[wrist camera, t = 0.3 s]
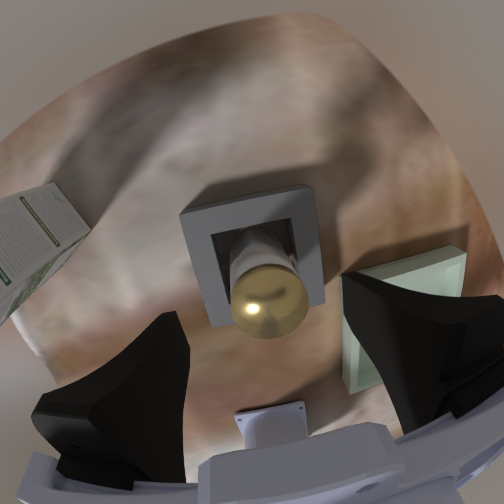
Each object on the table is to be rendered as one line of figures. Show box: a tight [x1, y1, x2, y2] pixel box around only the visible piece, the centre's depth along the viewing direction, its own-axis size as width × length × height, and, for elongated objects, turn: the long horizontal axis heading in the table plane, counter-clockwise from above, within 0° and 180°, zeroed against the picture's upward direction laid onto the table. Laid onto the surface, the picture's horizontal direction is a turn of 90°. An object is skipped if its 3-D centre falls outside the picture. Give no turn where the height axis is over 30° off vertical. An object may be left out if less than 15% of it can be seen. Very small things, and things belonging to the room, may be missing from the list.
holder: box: [179, 184, 325, 328], centre depth 21 cm, size 9×9×2 cm
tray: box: [340, 245, 467, 395], centre depth 24 cm, size 13×13×2 cm
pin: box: [230, 228, 309, 339], centre depth 18 cm, size 4×4×8 cm
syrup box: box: [0, 183, 91, 326], centre depth 13 cm, size 6×6×14 cm
